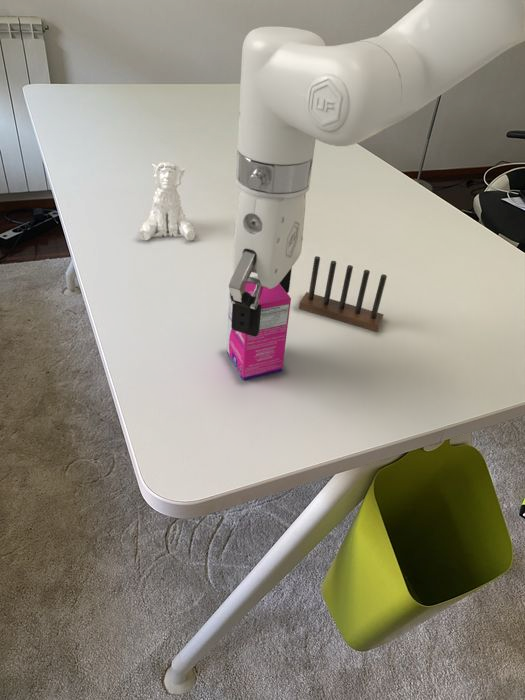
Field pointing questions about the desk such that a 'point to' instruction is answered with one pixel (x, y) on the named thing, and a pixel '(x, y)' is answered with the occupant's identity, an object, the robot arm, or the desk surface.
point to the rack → (343, 300)
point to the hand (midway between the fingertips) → (261, 310)
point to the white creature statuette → (167, 206)
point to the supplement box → (261, 335)
